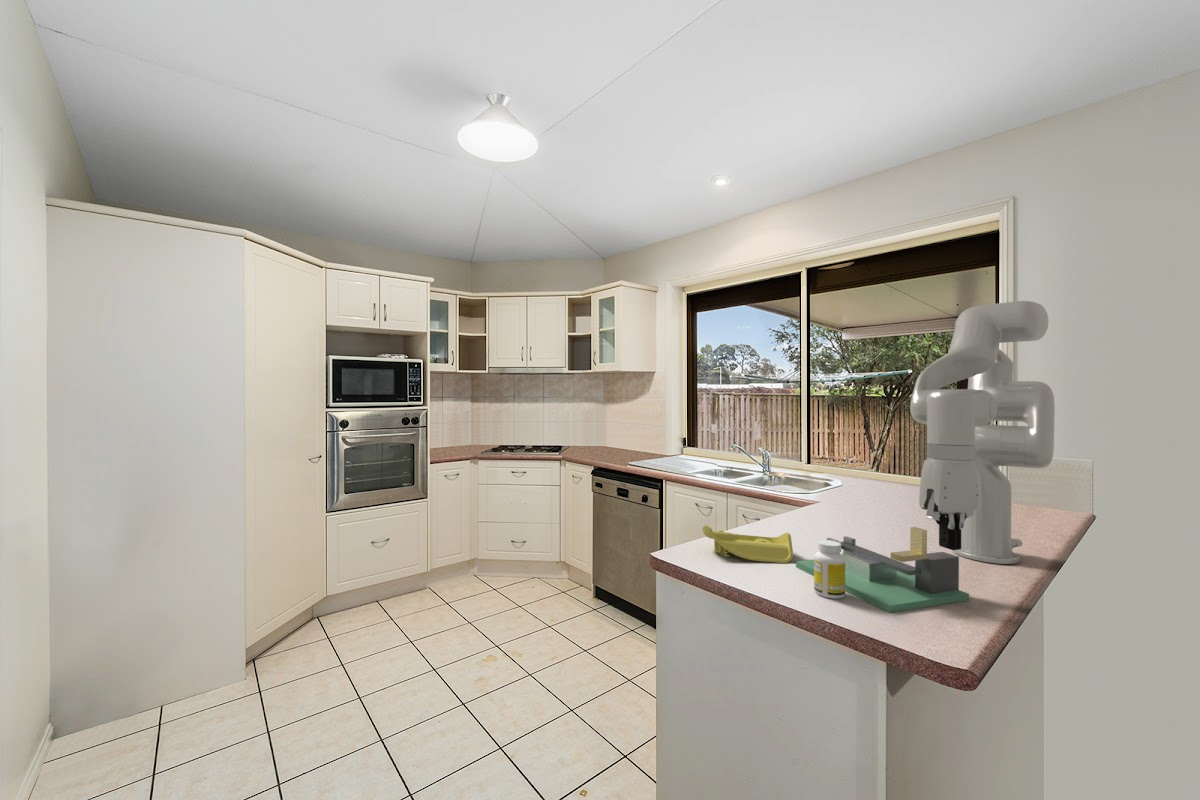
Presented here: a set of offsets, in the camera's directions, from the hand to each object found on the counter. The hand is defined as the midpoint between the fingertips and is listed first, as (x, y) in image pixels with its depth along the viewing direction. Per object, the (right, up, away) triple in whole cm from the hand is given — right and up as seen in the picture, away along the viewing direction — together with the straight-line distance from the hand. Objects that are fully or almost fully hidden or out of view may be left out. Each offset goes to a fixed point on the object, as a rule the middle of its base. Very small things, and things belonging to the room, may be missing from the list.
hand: (949, 547), depth 93 cm
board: (-12, -9, +5) cm, 15 cm away
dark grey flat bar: (-12, -4, +5) cm, 13 cm away
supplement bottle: (-24, -9, -1) cm, 26 cm away
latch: (-10, -1, -3) cm, 11 cm away
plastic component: (-33, -9, +23) cm, 41 cm away
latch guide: (-3, -8, -1) cm, 8 cm away
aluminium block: (-12, -7, +7) cm, 16 cm away
